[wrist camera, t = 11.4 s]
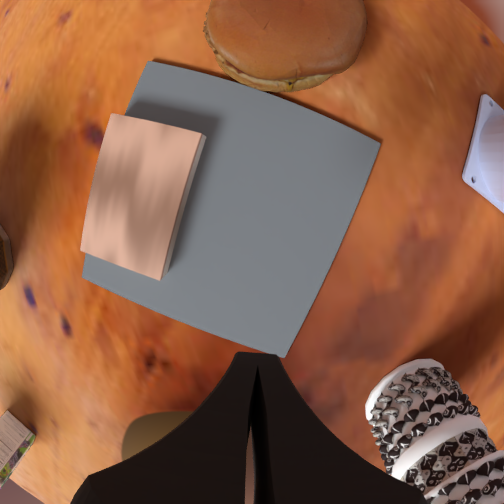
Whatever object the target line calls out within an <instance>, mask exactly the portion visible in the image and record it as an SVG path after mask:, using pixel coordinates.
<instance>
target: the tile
mask: <svg viewBox="0 0 504 504" xmlns="http://www.w3.org/2000/svg"><path fill="white" fill-rule="evenodd" d="M205 140H206V136H205V135H203V134H202V133H198V132H195V131H191V130H187V129H183V128H179V127H175V126H170V125H166V124H162V123H157V122H153V121H148V120H144V119H139V118H134V117H129V116H124V115H119V114H113V113H111V116H110V119H109V122H108V126H107V129H106V132H105V135H104V139H103V142H102V146H101V149H100V153H99V157H98V161H97V165H96V169H95V173H94V177H93V181H92V186H91V191H90V195H89V200H88V205H87V211H86V216H85V222H84V228H83V234H82V241H81V249H80V251H83V252H85V253H88V254H90V255H93V256H95V257H98V258H100V259H103V260H106V261H108V262H111V263H113V264H116V265H119V266H121V267H124V268H126V269H129V270H132V271H134V272H137V273H140V274H143V275H145V276H148V277H151V278H154V279H156V280H159V281H160V280H161V279H162V278H163V277H164V276H165V275H166V274H167V273H168V269H169V265H170V261H171V257H172V253H173V249H174V245H175V241H176V237H177V234H178V230H179V226H180V222H181V219H182V215H183V212H184V208H185V205H186V201H187V198H188V194H189V191H190V188H191V184H192V181H193V178H194V174H195V171H196V168H197V165H198V162H199V159H200V155H201V152H202V149H203V146H204V143H205Z"/></svg>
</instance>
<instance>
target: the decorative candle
mask: <svg viewBox="0 0 504 504" xmlns="http://www.w3.org/2000/svg"><path fill="white" fill-rule="evenodd" d="M468 399H469V397H468V395H467V394H463V392H462V390H461V388H460V384H459V383H458V382H457V381H456V380H453V378H452V377H451V373H450V372H449V371H447V370H444V367H443V365H442V364H441V363H439V362H437V361H435V360H433V359H416V360H413V361H411V362H408V363H406V364H403V365H400V366H399V367H397V368H396V369H394V370H393V371H392V372H390V373H389V374H387V375H386V376H384V377H383V378H382V379H381V381H380V382H379V383H378V384H377V385H376V386H375V387H374V388H373V390H372V391H371V393H370V395H369V397H368V400H367V402H366V404H365V409H366V417H367V419H368V420H369V424H370V425H373V426H374V427H373V428H372V429H371V432H372V433H373V436H374V437H378V439H377V440H376V442H375V443H376V445H381V446H380V449H379V451H380V453H381V454H382V455H381V458H382V460H384V461H385V462H384V465H385V467H386V473H387V474H390V475H392V476H393V477H395V478H397V479H399V480H401V481H403V482H405V483H407V484H409V485H412V486H414V487H416V488H418V489H421V491H422V493H423V495H424V497H425V499H426V500H427V502H428V504H504V450H499V451H498V450H497V449H496V447H495V444H494V443H493V441H492V439H490V438H489V437H488V433H487V428H486V427H485V425H484V424H483V422H482V421H481V420H480V414H479V412H477V411H478V408H477V407H476V406H475V405H472V406H471V402H470V401H468Z"/></svg>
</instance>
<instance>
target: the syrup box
mask: <svg viewBox="0 0 504 504" xmlns="http://www.w3.org/2000/svg"><path fill="white" fill-rule="evenodd" d="M35 437H36V436H35V435H34V434H33V433H32V432H31V431H30V430H29V429H28V428H26V427H25V426H24V425H23V424H22V423H21V422H20V421H19V420H18V419H16V418H15V417H14V416H13V415H12V414H11V413H10V412H9V411H8V410H7V411H6V412H5V413H4V414H3V415H2V416H1V417H0V489H1V488H2V486H3V485H4V483H5V482H6V481H7V479H8V478H9V477H10V475H11V474H12V473H13V471H14V470H15V468H16V467H17V466H18V464H19V463H20V461H21V460H22V459H23V457H24V456H25V454H26V453H27V451H28V450H29V449H30V447H31V446H32V444H33V442H34V439H35Z"/></svg>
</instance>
